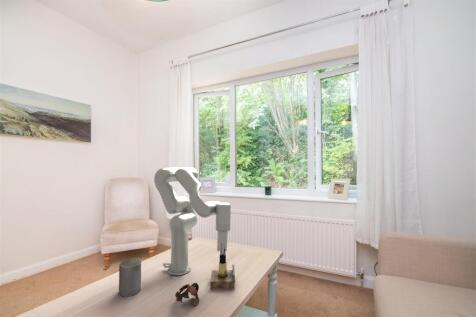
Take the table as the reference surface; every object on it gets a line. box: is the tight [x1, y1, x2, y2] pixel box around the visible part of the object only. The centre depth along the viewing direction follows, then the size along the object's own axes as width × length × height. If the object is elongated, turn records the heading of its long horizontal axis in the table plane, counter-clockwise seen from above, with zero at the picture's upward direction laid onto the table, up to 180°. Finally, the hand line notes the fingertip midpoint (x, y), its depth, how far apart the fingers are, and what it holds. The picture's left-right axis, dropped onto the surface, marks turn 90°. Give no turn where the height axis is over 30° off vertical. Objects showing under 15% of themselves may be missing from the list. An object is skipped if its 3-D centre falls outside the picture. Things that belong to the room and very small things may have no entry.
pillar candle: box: [118, 258, 142, 298], centre depth 112 cm, size 10×10×15 cm
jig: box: [209, 264, 236, 290], centre depth 121 cm, size 12×12×6 cm
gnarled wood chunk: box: [175, 282, 200, 307], centre depth 105 cm, size 12×10×8 cm
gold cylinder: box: [218, 261, 228, 278], centre depth 121 cm, size 4×4×10 cm
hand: (222, 262), depth 121 cm, fingers closed
